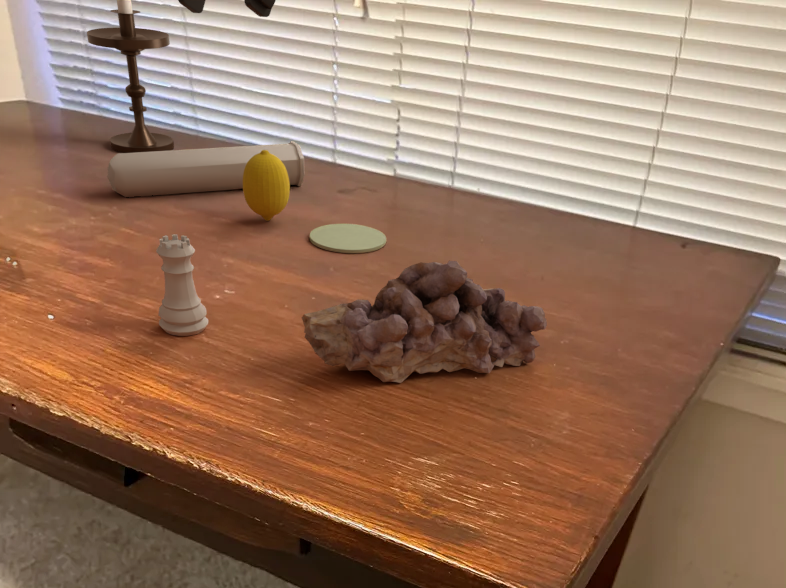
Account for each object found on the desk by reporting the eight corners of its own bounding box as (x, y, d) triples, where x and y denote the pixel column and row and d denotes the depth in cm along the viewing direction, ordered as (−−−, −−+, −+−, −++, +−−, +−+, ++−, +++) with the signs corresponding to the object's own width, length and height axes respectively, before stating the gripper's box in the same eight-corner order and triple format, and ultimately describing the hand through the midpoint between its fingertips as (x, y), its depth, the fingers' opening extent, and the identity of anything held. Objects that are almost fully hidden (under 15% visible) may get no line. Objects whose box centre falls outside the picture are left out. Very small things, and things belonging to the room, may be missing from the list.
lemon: (277, 211, 102) (275, 142, 97) (298, 224, 99) (297, 154, 94) (236, 216, 99) (232, 145, 94) (256, 230, 96) (253, 158, 91)
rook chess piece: (218, 328, 75) (211, 241, 70) (177, 342, 72) (166, 252, 67) (191, 312, 77) (182, 227, 72) (149, 325, 75) (137, 237, 70)
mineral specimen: (496, 268, 76) (535, 214, 67) (535, 366, 76) (581, 327, 66) (291, 329, 71) (302, 280, 62) (332, 435, 71) (350, 402, 61)
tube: (110, 169, 98) (306, 157, 107) (100, 143, 100) (293, 133, 109) (114, 208, 102) (302, 193, 111) (104, 183, 104) (290, 169, 114)
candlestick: (101, 155, 116) (49, -169, 94) (107, 136, 124) (60, -166, 102) (180, 156, 118) (147, -160, 96) (180, 137, 126) (150, -159, 104)
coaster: (306, 250, 92) (306, 247, 92) (312, 224, 99) (312, 221, 99) (386, 255, 92) (386, 252, 92) (386, 229, 99) (386, 225, 99)
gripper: (186, -236, 64) (131, -19, 67) (313, -263, 56) (245, -17, 59) (254, -164, 70) (201, 31, 73) (376, -180, 63) (312, 39, 66)
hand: (221, 9), depth 66 cm, fingers open, 8 cm apart
